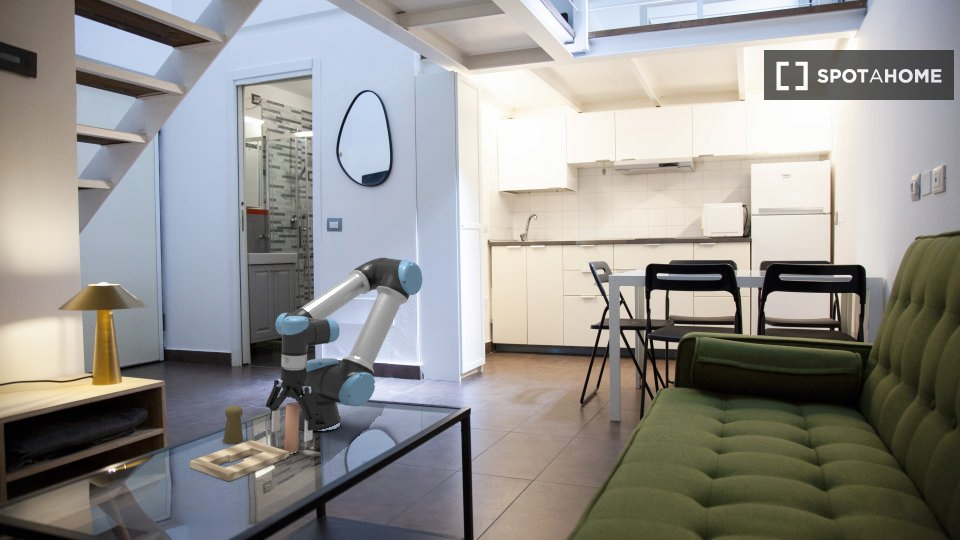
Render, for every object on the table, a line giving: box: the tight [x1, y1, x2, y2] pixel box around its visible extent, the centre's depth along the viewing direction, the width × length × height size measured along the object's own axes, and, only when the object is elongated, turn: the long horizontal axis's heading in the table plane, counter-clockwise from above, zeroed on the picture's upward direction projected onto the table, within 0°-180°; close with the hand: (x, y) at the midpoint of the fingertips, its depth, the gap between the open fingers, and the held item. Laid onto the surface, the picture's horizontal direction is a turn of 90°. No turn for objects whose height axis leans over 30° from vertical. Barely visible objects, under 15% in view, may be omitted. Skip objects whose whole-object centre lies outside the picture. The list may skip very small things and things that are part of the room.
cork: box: [222, 405, 244, 445], centre depth 216 cm, size 6×6×11 cm
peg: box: [283, 402, 300, 453], centre depth 209 cm, size 4×4×15 cm
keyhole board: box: [189, 439, 290, 482], centre depth 199 cm, size 22×16×2 cm
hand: (291, 435), depth 209 cm, fingers open, 13 cm apart
